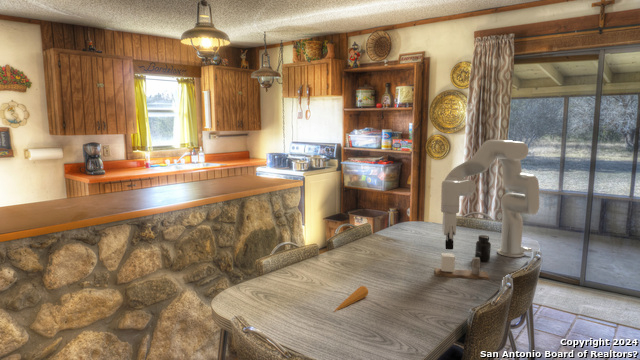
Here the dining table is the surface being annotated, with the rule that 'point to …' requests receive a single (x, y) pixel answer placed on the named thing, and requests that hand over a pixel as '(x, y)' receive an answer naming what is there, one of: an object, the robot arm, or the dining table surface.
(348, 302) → the carrot
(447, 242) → the robot arm
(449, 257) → the cream rectangular block
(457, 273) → the post strip
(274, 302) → the dining table surface
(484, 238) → the supplement bottle
